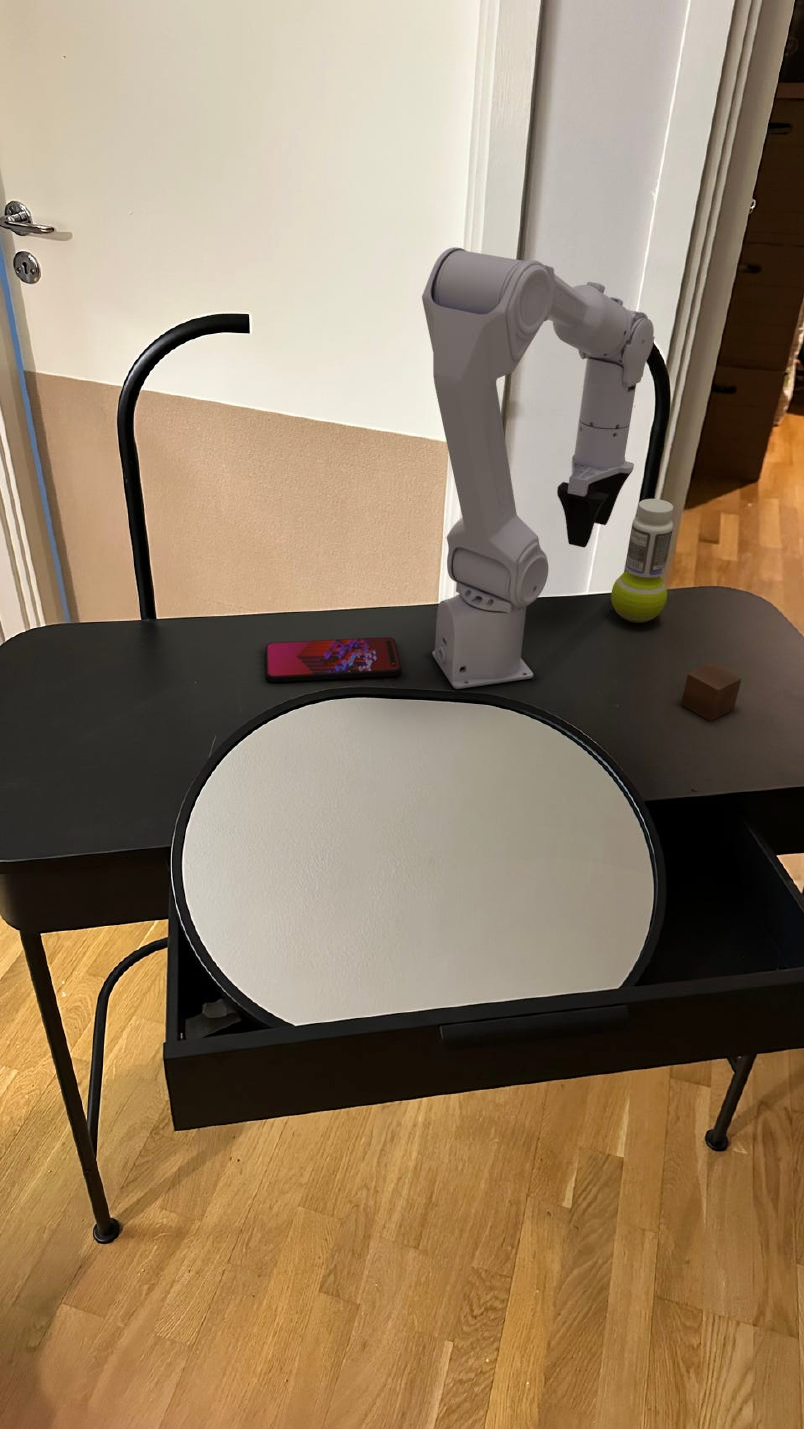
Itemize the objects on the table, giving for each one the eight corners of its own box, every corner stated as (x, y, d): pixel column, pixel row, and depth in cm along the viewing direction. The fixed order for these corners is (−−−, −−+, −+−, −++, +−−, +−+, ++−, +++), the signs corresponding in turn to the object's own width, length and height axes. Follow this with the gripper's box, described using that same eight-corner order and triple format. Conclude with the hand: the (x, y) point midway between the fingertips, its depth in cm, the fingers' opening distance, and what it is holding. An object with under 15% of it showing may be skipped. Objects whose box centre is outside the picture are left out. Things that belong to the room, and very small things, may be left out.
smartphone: (265, 642, 113) (394, 636, 115) (265, 648, 114) (394, 642, 116) (266, 677, 107) (402, 670, 109) (266, 684, 107) (402, 677, 109)
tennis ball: (658, 636, 119) (668, 586, 115) (603, 626, 121) (611, 577, 117) (664, 612, 124) (674, 564, 121) (611, 603, 126) (619, 555, 122)
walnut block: (710, 721, 104) (718, 690, 102) (680, 704, 107) (687, 673, 104) (733, 709, 106) (742, 678, 104) (704, 693, 109) (711, 662, 106)
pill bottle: (661, 563, 121) (674, 498, 116) (666, 580, 117) (679, 514, 112) (622, 561, 121) (633, 496, 116) (626, 577, 117) (637, 511, 112)
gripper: (619, 445, 104) (601, 563, 111) (656, 411, 115) (637, 520, 122) (556, 434, 106) (542, 549, 114) (598, 401, 117) (583, 508, 125)
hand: (588, 533), depth 118 cm, fingers open, 7 cm apart
